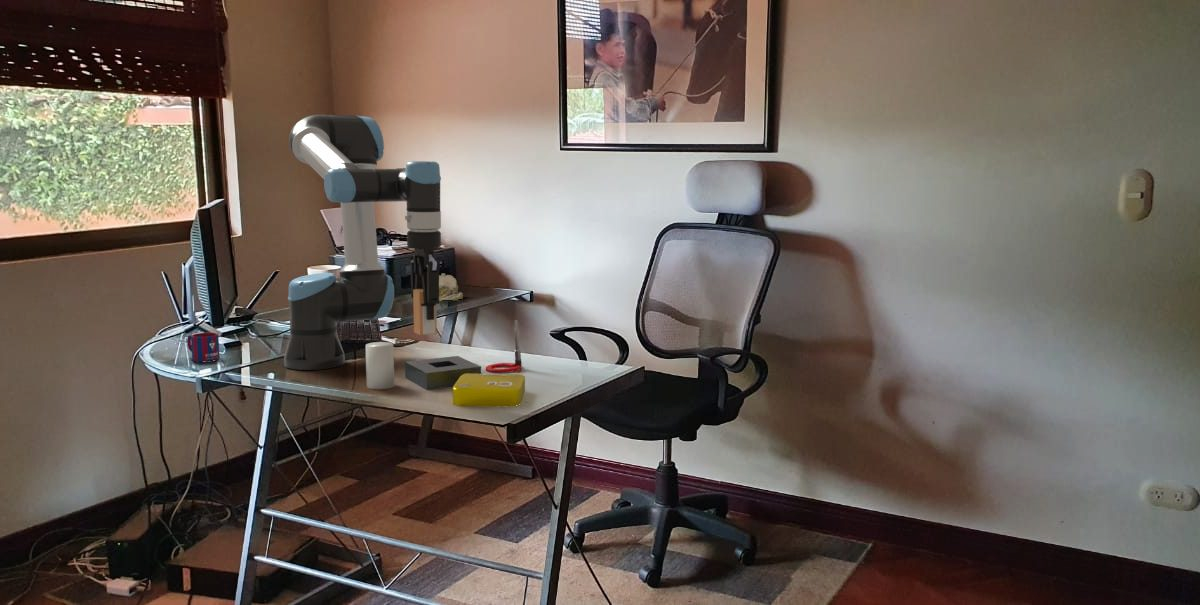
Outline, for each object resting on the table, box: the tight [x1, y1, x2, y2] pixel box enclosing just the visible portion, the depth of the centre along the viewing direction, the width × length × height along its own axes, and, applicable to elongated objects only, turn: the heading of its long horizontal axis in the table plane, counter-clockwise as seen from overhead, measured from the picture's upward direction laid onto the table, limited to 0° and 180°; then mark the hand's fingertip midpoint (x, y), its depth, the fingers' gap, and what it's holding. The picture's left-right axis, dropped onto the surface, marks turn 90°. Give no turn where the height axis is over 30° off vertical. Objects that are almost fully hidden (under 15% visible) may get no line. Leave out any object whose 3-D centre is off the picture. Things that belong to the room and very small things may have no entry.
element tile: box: [451, 373, 526, 408], centre depth 210 cm, size 15×15×5 cm
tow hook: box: [485, 319, 523, 374], centre depth 237 cm, size 8×13×9 cm
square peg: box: [412, 289, 438, 336], centre depth 212 cm, size 4×4×10 cm
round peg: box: [365, 341, 395, 390], centre depth 219 cm, size 6×6×10 cm
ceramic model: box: [439, 273, 464, 302], centre depth 355 cm, size 14×11×10 cm
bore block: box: [404, 355, 482, 390], centre depth 226 cm, size 14×14×4 cm
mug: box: [186, 331, 221, 363], centre depth 246 cm, size 7×10×7 cm
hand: (425, 331), depth 213 cm, fingers closed on square peg, 4 cm apart
